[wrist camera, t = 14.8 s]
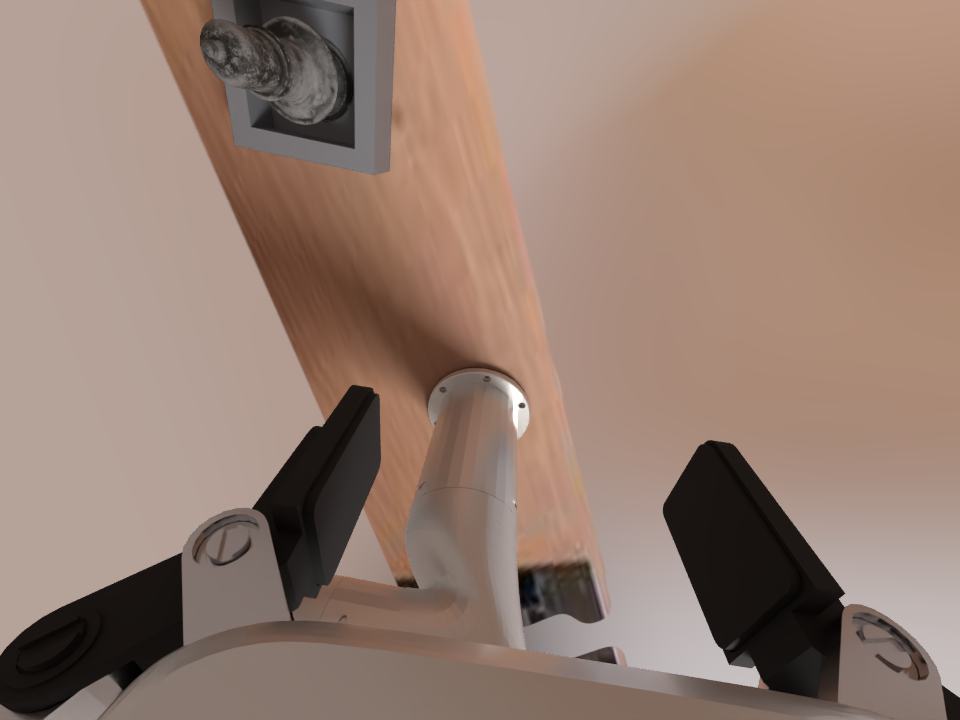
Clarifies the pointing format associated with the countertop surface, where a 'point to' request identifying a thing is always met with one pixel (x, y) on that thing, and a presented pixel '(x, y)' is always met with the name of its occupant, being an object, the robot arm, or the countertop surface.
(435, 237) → the countertop surface
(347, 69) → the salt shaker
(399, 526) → the countertop surface
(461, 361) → the countertop surface
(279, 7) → the holder
